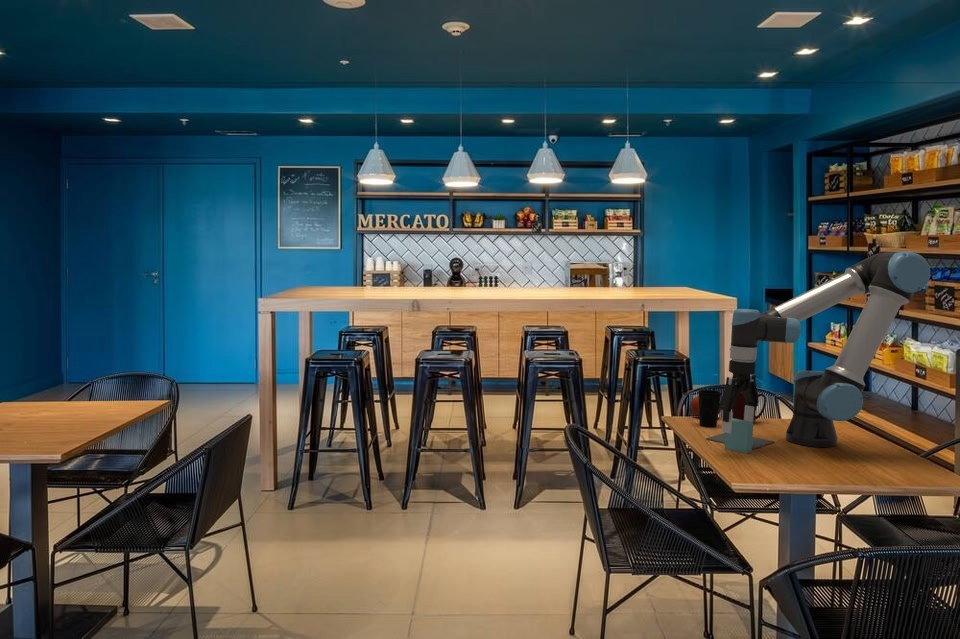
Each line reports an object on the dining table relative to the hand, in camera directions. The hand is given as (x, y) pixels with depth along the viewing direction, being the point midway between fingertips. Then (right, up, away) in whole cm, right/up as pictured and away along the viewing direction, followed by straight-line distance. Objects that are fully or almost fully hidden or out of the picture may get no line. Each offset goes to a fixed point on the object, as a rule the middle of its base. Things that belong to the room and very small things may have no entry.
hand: (737, 429), depth 222 cm
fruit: (+5, -3, +47) cm, 47 cm away
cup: (+1, -4, +33) cm, 33 cm away
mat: (+5, -5, +12) cm, 14 cm away
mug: (+18, -4, +40) cm, 44 cm away
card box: (0, -6, +1) cm, 6 cm away
